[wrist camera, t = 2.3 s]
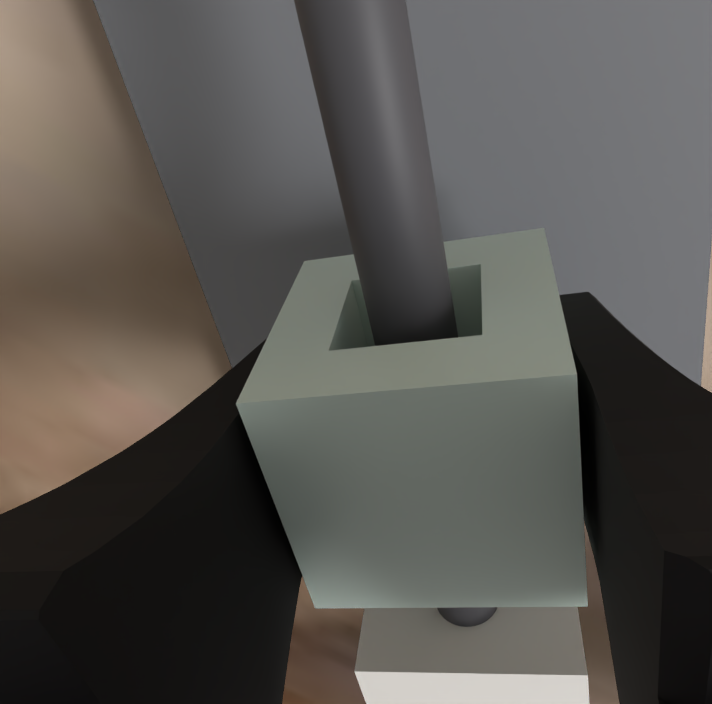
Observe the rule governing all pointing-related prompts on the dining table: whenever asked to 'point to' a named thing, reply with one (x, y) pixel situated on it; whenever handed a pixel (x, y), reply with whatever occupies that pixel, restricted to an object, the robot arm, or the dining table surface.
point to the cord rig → (436, 207)
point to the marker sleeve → (427, 439)
